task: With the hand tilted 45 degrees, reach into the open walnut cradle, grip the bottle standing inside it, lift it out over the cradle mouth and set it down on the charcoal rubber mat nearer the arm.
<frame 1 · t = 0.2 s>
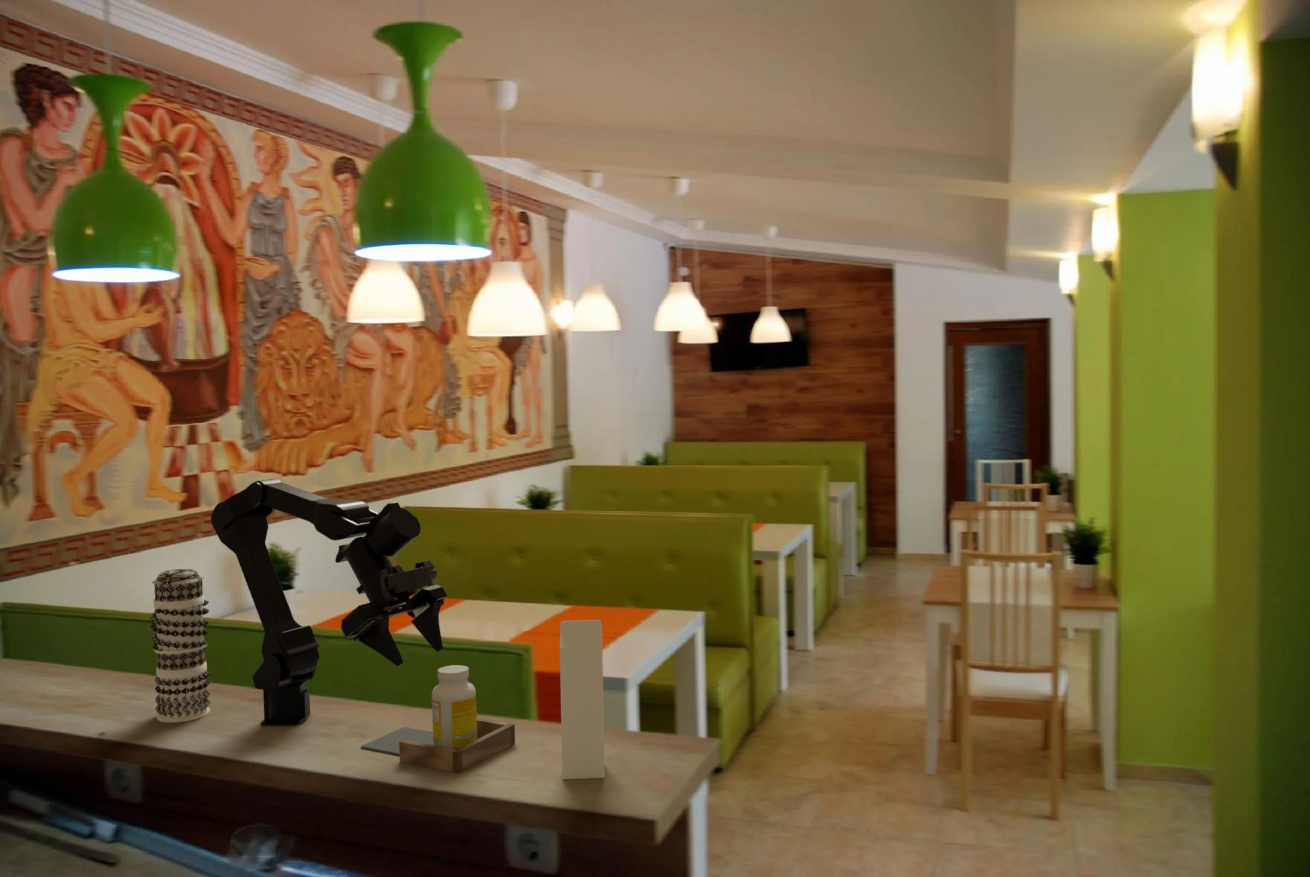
hand: (421, 657, 162), 14 cm above the table, tool tilted 35°, fingers open, 9 cm apart
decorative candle: (183, 715, 180), on the table
mat: (407, 742, 164), on the table
cradle: (458, 752, 160), on the table
supplement bottle: (455, 753, 160), on the table
milk: (583, 772, 151), on the table
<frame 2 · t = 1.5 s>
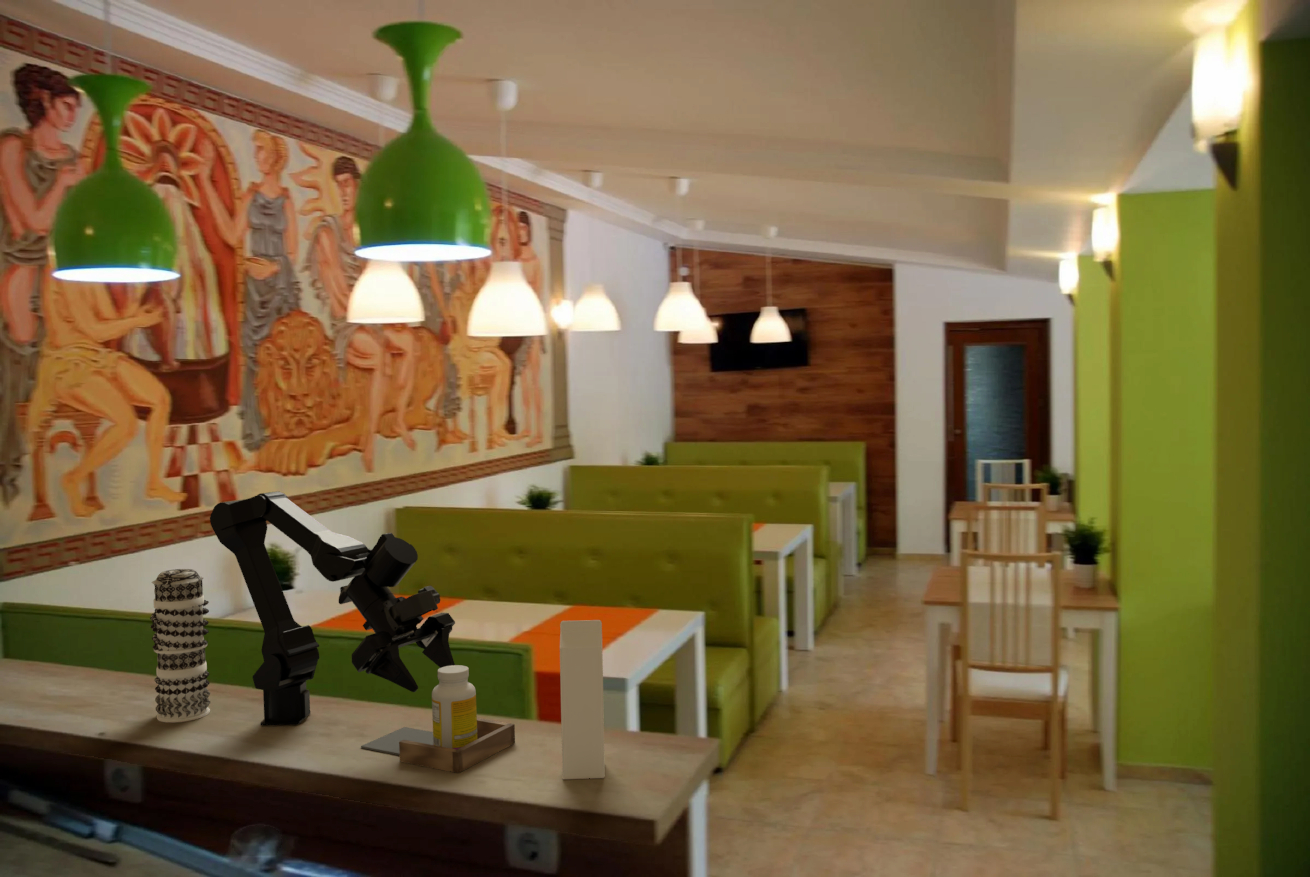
hand: (436, 682, 161), 10 cm above the table, tool tilted 45°, fingers open, 9 cm apart
nothing on the table moved.
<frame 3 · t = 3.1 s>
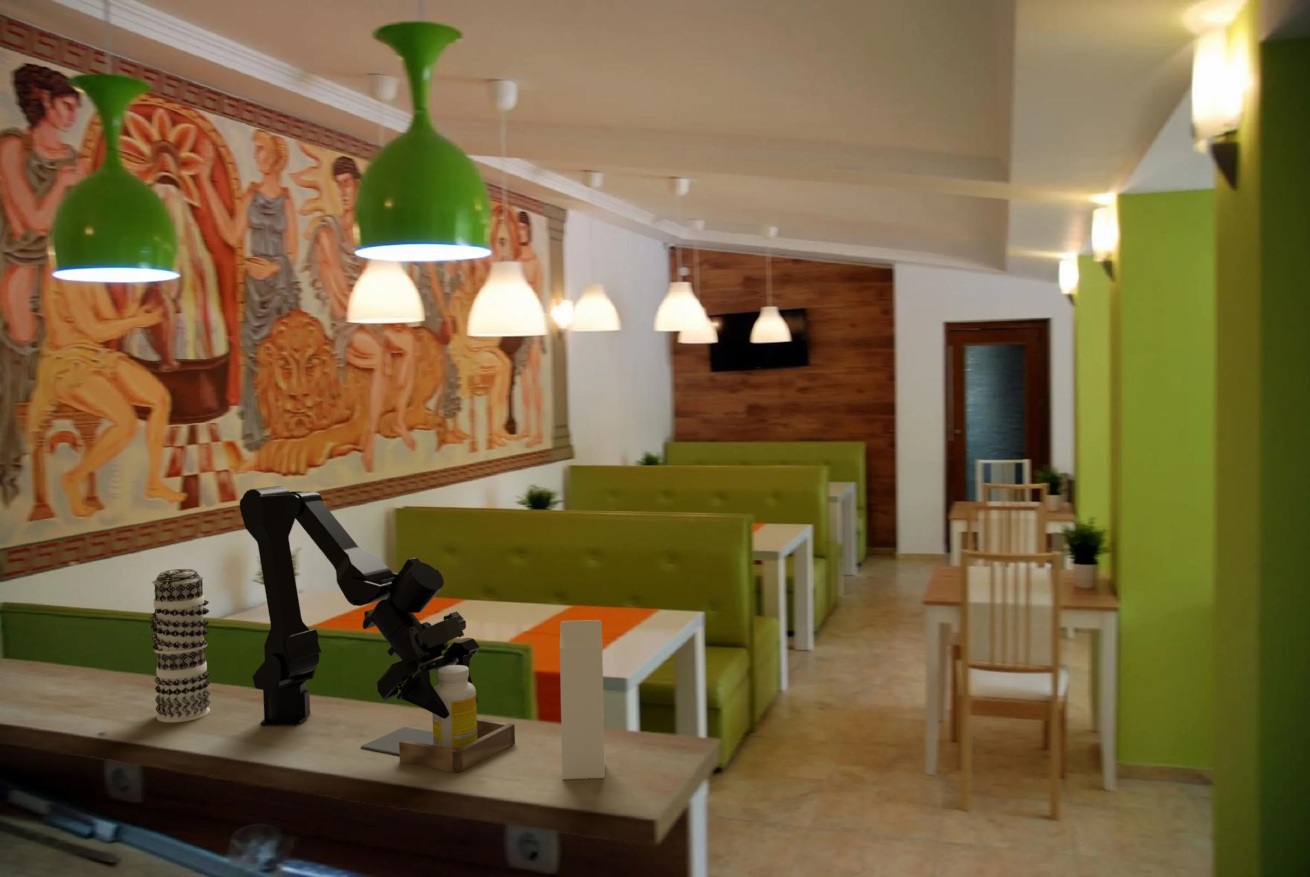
hand: (461, 710, 159), 7 cm above the table, tool tilted 45°, fingers closed on supplement bottle, 6 cm apart
supplement bottle: (455, 753, 160), on the table, touching gripper
everything else where it was.
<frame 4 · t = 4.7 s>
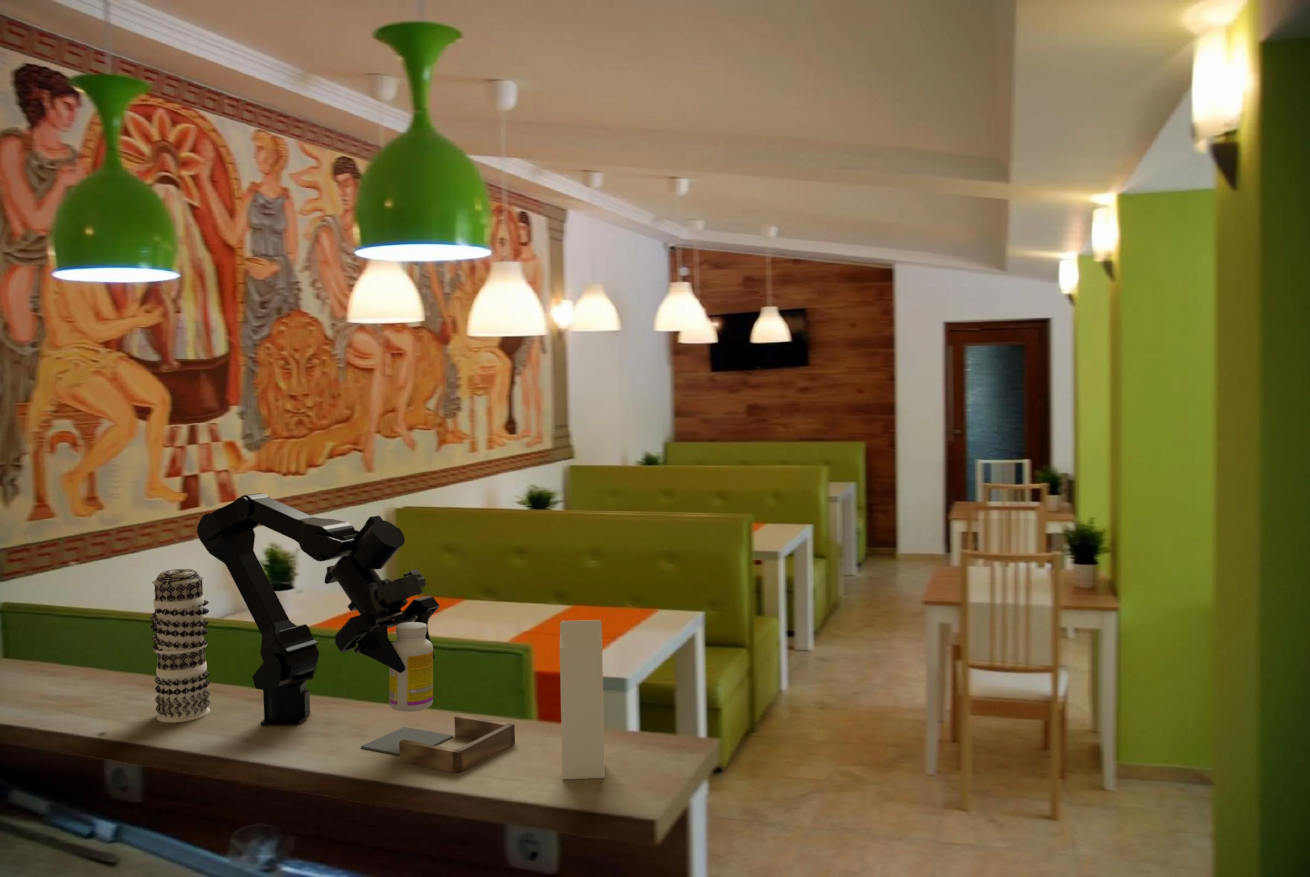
hand: (418, 665, 162), 13 cm above the table, tool tilted 45°, fingers closed on supplement bottle, 6 cm apart
supplement bottle: (410, 707, 163), point 6 cm above the table, touching gripper
everything else where it was.
when the fingers open (8 cm above the table, at t = 6.3 s): supplement bottle stays where it is, resting on mat.
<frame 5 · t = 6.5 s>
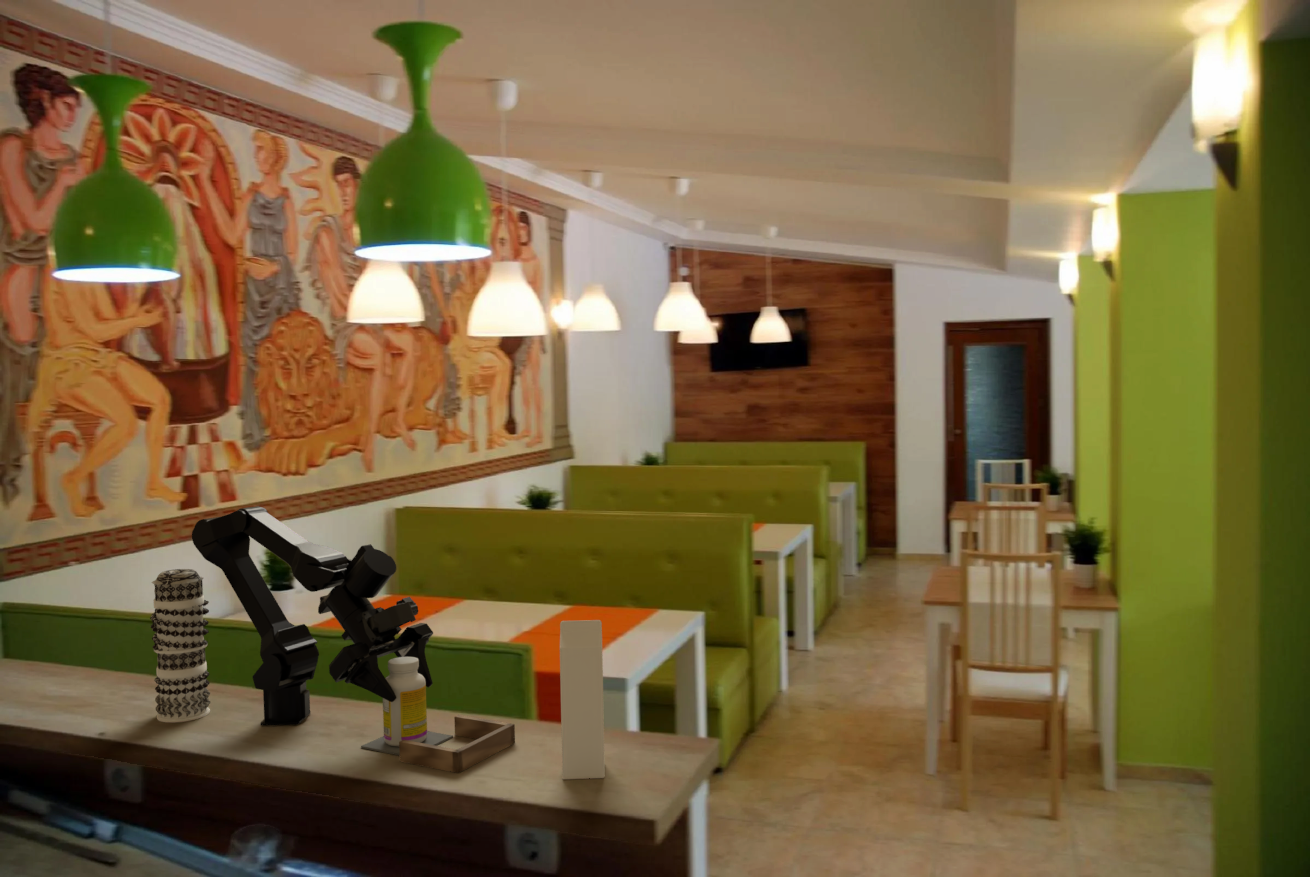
hand: (412, 692, 163), 8 cm above the table, tool tilted 45°, fingers open, 8 cm apart
supplement bottle: (405, 742, 164), resting on mat
everything else where it was.
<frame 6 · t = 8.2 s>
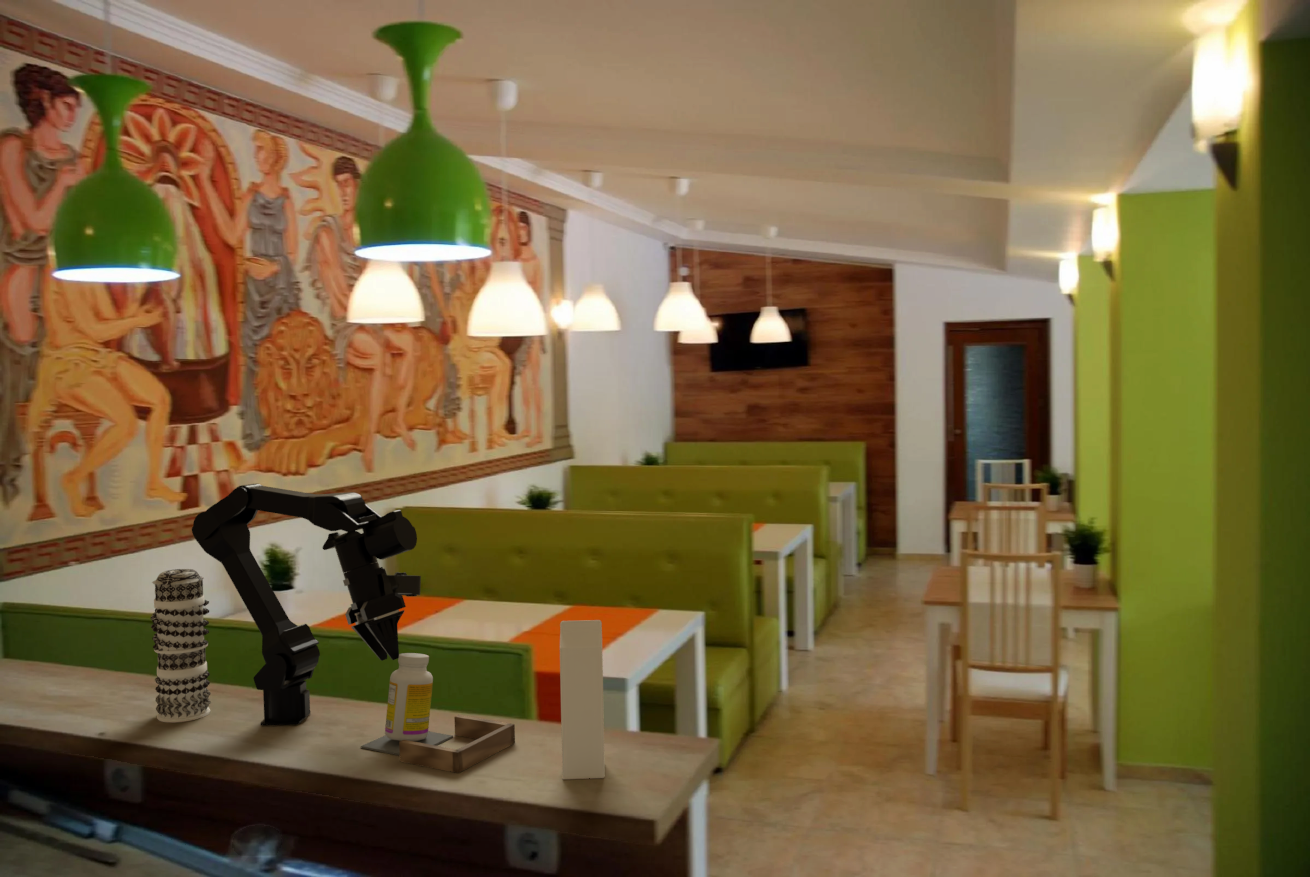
hand: (390, 659, 169), 12 cm above the table, tool tilted 20°, fingers open, 9 cm apart
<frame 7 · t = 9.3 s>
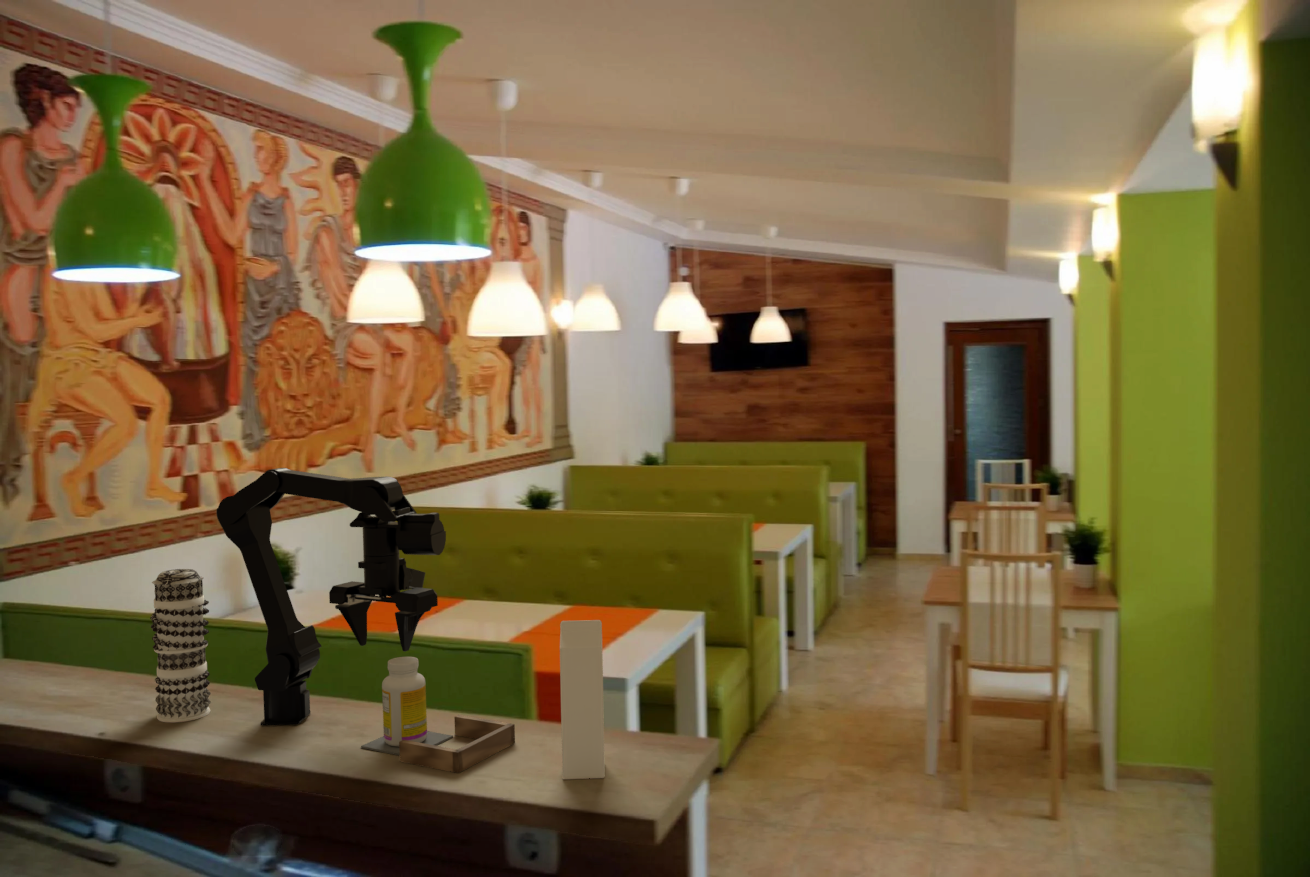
hand: (384, 648, 172), 13 cm above the table, tool pointing down, fingers open, 9 cm apart
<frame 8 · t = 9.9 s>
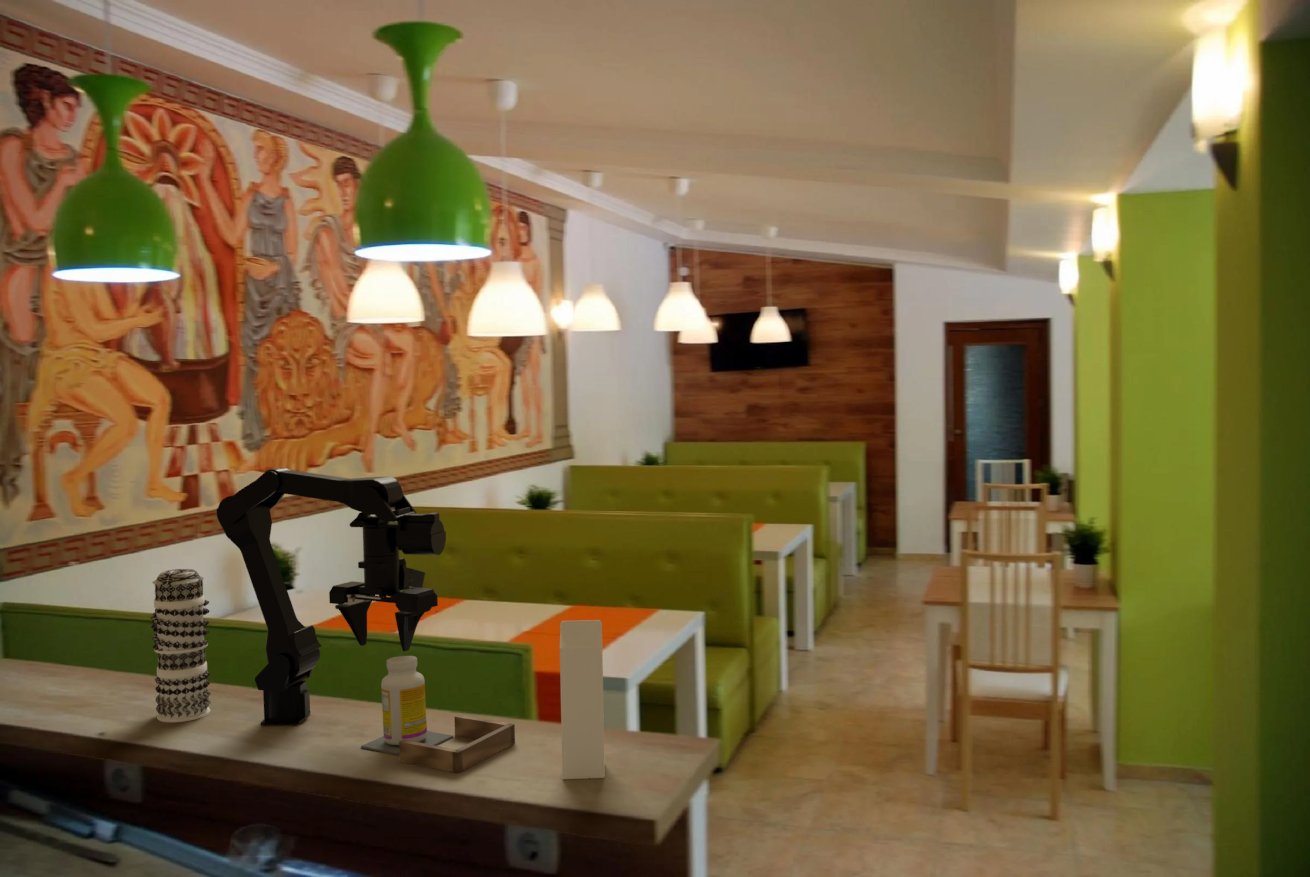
hand: (384, 648, 172), 13 cm above the table, tool pointing down, fingers open, 9 cm apart
nothing on the table moved.
at the end: supplement bottle 0.3 cm from the mat (horizontally); supplement bottle tilted 1°; the gripper is holding nothing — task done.
